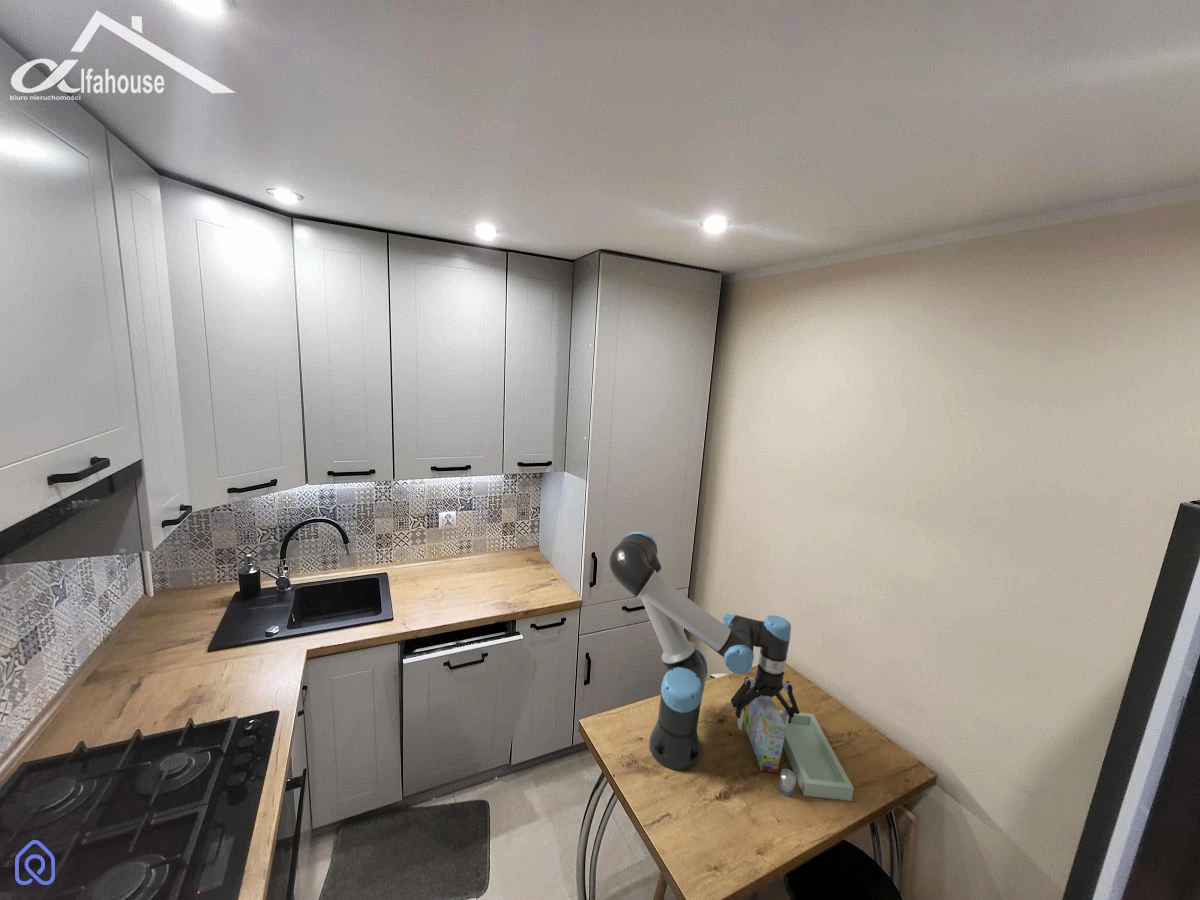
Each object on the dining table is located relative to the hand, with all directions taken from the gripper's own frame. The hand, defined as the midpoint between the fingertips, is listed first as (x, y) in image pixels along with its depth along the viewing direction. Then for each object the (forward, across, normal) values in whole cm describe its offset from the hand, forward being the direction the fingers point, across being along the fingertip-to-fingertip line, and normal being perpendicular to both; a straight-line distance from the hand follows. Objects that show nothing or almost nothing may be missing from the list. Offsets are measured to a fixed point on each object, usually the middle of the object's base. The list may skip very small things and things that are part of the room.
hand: (761, 728), depth 144 cm
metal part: (+5, +3, -16) cm, 17 cm away
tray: (+5, +14, -3) cm, 15 cm away
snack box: (+6, 0, 0) cm, 6 cm away
